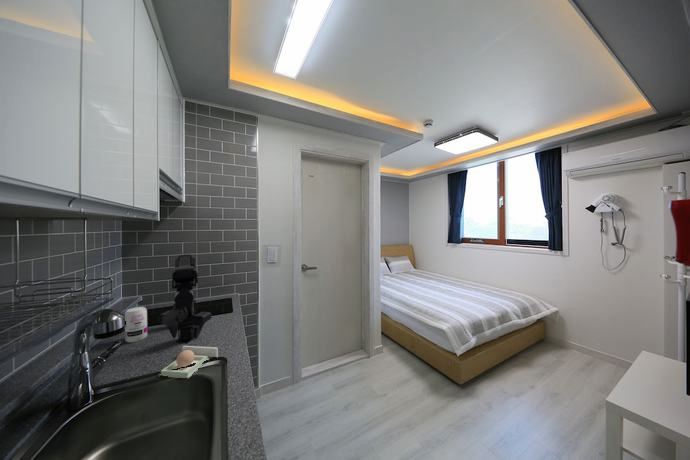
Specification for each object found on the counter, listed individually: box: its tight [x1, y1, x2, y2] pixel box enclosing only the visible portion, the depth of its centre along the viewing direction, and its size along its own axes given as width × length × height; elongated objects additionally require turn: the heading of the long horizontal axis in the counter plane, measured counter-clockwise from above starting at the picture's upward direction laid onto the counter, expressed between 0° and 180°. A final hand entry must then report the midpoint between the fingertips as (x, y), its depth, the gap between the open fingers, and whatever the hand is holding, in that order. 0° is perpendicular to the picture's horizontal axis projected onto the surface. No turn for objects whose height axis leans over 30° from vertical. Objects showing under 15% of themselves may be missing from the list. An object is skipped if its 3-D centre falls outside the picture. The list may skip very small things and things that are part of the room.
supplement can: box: [124, 306, 148, 343], centre depth 115 cm, size 8×8×15 cm
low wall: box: [181, 345, 219, 358], centre depth 101 cm, size 16×1×4 cm, turn 85°
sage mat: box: [158, 355, 211, 379], centre depth 93 cm, size 12×12×2 cm
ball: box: [175, 350, 194, 367], centre depth 93 cm, size 6×6×6 cm
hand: (185, 338), depth 92 cm, fingers open, 9 cm apart
